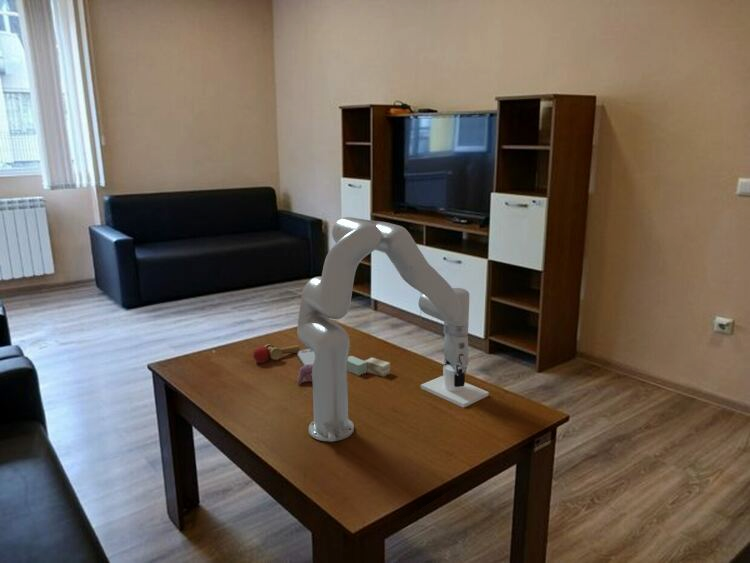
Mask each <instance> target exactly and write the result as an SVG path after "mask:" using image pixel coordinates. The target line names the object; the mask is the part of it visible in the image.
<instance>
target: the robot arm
mask: <svg viewBox="0 0 750 563" xmlns="http://www.w3.org/2000/svg"><path fill="white" fill-rule="evenodd" d="M331 236H332V238H333V240H334V245H333V246H332V247H331V249H330V250H329V251H328V253H327V255H326V256H325V260H324V263H323V268H322V272H321V276H314V277H313V278H311V279H309V280H308V281H307V282H306V284H305V285H304V287H303V289H302V291H301V296H300V303H299V311H298V319H297V328H296V330H297V337H298V340H299V341H300V343H302V345H304V346H306V348H307V349H311V350H312V351H313V352H314V353H315V360H314V363H313V368H312V373H311V376H312V380H311V382H312V401H313V402H312V403H313V407H312V408H313V420H312V421H311V423H309V426H308V433H309V436H311V437H312V438H313V439H315V440H318V441H322V442H338V441H341V440H345V439H347V438H349V437H350V436H351V435H352V434H353V433H354V431H355V430H354V429H355V427H354V426H355V425H354V423H353V421H352V420H350V419H349V407H348V406H349V402H348V401H349V394H348V388H349V387H348V371H347V360H348V357H349V353H350V348H351V342H350V337H349V335H348V333H347V331H346V330H345V329H344V328H343V327H342V326H340V325H339V324H337V323H336V322H334V321H332V320H340V319H343V318H344V317H345V316H346V315H348V313H349V310H350V306H351V301H352V294H353V287H354V283H355V282H354V281H355V276H356V271H357V268H358V266H359V264H360V263H361V261H362V260H363V259H364V258H366V257H367V256H369V255H370V254H372V253H373V252H375V251H378V252H381V253H384V254H386V256H387V257H388V258H389V260H390V261H391V263H392V264H393V266H394V268H395V269H396V271H397V272H398V274H399V275H400V277H401V278H402V280H404V282H406V283H407V284H408V285H409V286H410V287H412V288H413V289H415V290H417V291H418V292H420V293H421V296H420V297H418V298H419V299H418V308H419V309H420V310H421V312H422V313H423V314H425V315H427V316H430V317H432V318H435V319H437V320H440V321H441V322H443V334H444V339H443V340H444V341H443V356H444V366H445V365H447V364H452V365H453V366H454V367H455V372H456V374H455V377H454V386H455V387H460V386H464V385H465V383H466V380H465V379H466V377H465V376H466V373H467V369H468V365H469V364H470V363H469V361H470V360H469V359H470V358H469V351H470V350H469V339H468V334H469V321H470V316H469V315H470V314H469V313H470V292H469V290H467V289H465V288H461V287H452V286H451V284H450V283H448V281H447V280H446V279H445V278H444V277H443V276H442V275H441V274H440V273H439V272H438V271H437V270H436V269H435V268H434V267H433V266H432V265H431V264H430V263H429V262H428V261H427V259H426V257H425V256H424V254H423V253H422V251H421V249H420V248H419V246H418V245H417V243H416V241H415V240H414V238H413V237H412V234H411V233H410V232H409V230H407V229H406V228H405V227H404V226H402V225H398V224H394V223H392V222H391V223H390V222H385V221H379V220H370V219H365V218H357V217H352V216H351V217H350V216H347V217H346V216H345V217H341V218H339V219H338V220H336V221H335V223H334V224H333V226H332V229H331ZM330 319H331V320H330ZM457 364H459V365H457ZM458 367H461V369H459V371H458Z"/></svg>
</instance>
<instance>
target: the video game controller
mask: <svg viewBox="0 0 750 563" xmlns="http://www.w3.org/2000/svg"><path fill="white" fill-rule="evenodd" d="M312 368H313V364H309V365H302V366H301V367H300V369H299V370H298V374H297V385H299V386H300V385H301V384H303V380H304V379H305V381H306V382H312Z"/></svg>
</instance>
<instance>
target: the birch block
mask: <svg viewBox="0 0 750 563" xmlns="http://www.w3.org/2000/svg"><path fill="white" fill-rule="evenodd" d="M364 361H366V362H367V373H369V372H370V373H369V374H372V373H373V374H372V375H375V374H376V376H378V375H379V376H378V377H381V376H382V378H384V377H386V376H387V374H388V375H389V374H391V362H389V361H385V360H382V359H378V358H375V357H369V358H368V359H367V358H366V359H364Z"/></svg>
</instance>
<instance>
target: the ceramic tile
mask: <svg viewBox="0 0 750 563" xmlns="http://www.w3.org/2000/svg"><path fill="white" fill-rule="evenodd" d="M420 389H422V390H424V391H425V392H428V393H431V394H432V395H435V396H436V397H439V398H441V399H443V400H446V401H448V402H451V403H452V404H454V405H457V406H459V407H461V408H463V409H464V408H466V407H468V406H470V405H472V404H475V403H476V402H478V401H480V400H482V399H485V398H486V397H488V396H489V394H490V393H489V391H487V390H484V389H482V388H479V387H477V386H475V385H472V384H470V383H469V382H468V383H467V382H465V385H464V386H462V390H460V391H458V392H451V391H447V390H446V389H445V388H444V375H440V376H438V377H436V378H434V379H431V380H428V381H426V382H425V383H422V384H420Z"/></svg>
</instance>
